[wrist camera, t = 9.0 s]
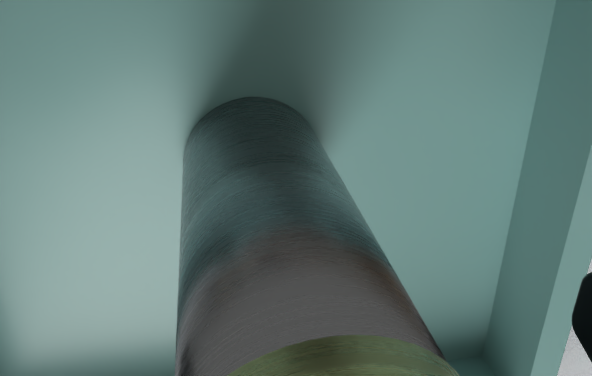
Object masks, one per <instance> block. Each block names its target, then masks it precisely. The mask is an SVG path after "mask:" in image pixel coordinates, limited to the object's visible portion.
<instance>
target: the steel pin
mask: <svg viewBox="0 0 592 376" xmlns="http://www.w3.org/2000/svg"><path fill="white" fill-rule="evenodd" d="M175 376H460V375H459V374H458V373H457V371H456V370H455V369H454V368H452V367H451V366H450V365H449V364H448V362H447V361H446V359H445V357H444V355H443V354H442V352H441V350H440V349H439V347H438V345H437V343H436V342H435V340H434V338H433V336H432V335H431V333H430V331H429V330H428V328H427V326H426V324H425V323H424V321H423V319H422V317H421V316H420V314H419V312H418V310H417V309H416V307H415V305H414V304H413V302H412V300H411V298H410V297H409V295H408V293H407V291H406V290H405V288H404V286H403V285H402V283H401V281H400V279H399V278H398V276H397V274H396V272H395V271H394V269H393V267H392V265H391V264H390V262H389V260H388V259H387V257H386V255H385V253H384V252H383V250H382V248H381V246H380V245H379V243H378V241H377V240H376V238H375V236H374V234H373V233H372V231H371V229H370V227H369V226H368V224H367V222H366V220H365V219H364V217H363V215H362V214H361V212H360V210H359V208H358V207H357V205H356V203H355V201H354V200H353V198H352V196H351V195H350V193H349V191H348V189H347V188H346V186H345V184H344V182H343V181H342V179H341V177H340V175H339V174H338V172H337V170H336V169H335V167H334V165H333V163H332V162H331V160H330V158H329V156H328V155H327V153H326V151H325V150H324V148H323V146H322V144H321V143H320V141H319V139H318V137H317V136H316V134H315V132H314V130H313V129H312V127H311V126H310V124H309V123H308V121H307V120H306V119H305V118H304V117H303V116H302V115H301V114H300V113H299V112H298V111H296V110H295V109H294V108H292V107H290V106H289V105H287V104H285V103H283V102H280V101H278V100H274V99H271V98H265V97H243V98H238V99H234V100H230V101H228V102H225V103H223V104H221V105H219V106H217V107H215V108H214V109H212V110H211V111H210V112H208V113H207V114H206V115H205V116H204V117H203V118H201V119H200V121H199V122H198V123H197V124H196V126H195V127H194V128H193V130H192V132H191V133H190V135H189V138H188V140H187V142H186V146H185V150H184V156H183V176H182V201H181V227H180V252H179V278H178V303H177V328H176V354H175Z"/></svg>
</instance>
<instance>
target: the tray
mask: <svg viewBox="0 0 592 376" xmlns="http://www.w3.org/2000/svg"><path fill="white" fill-rule="evenodd" d="M243 97H265V98H271V99H274V100H278V101H280V102H283V103H285V104H287V105H289V106H290V107H292V108H294V109H295V110H296V111H298V112H299V113H300V114H301V115H302V116H303V117H304V118H305V119H306V120H307V121H308V123H309V124H310V126H311V127H312V129H313V130H314V132H315V134H316V136H317V137H318V139H319V141H320V143H321V144H322V146H323V148H324V150H325V151H326V153H327V155H328V156H329V158H330V160H331V162H332V163H333V165H334V167H335V169H336V170H337V172H338V174H339V175H340V177H341V179H342V181H343V182H344V184H345V186H346V188H347V189H348V191H349V193H350V195H351V196H352V198H353V200H354V201H355V203H356V205H357V207H358V208H359V210H360V212H361V214H362V215H363V217H364V219H365V220H366V222H367V224H368V226H369V227H370V229H371V231H372V233H373V234H374V236H375V238H376V240H377V241H378V243H379V245H380V246H381V248H382V250H383V252H384V253H385V255H386V257H387V259H388V260H389V262H390V264H391V265H392V267H393V269H394V271H395V272H396V274H397V276H398V278H399V279H400V281H401V283H402V285H403V286H404V288H405V290H406V291H407V293H408V295H409V297H410V298H411V300H412V302H413V304H414V305H415V307H416V309H417V310H418V312H419V314H420V316H421V317H422V319H423V321H424V323H425V324H426V326H427V328H428V330H429V331H430V333H431V335H432V336H433V338H434V340H435V342H436V343H437V345H438V347H439V349H440V350H441V352H442V354H443V355H444V357H445V359H446V361H447V362H448V364H449V365H450V366H451V367H452V368H454V369H455V370H456V371H457V373H458V374H459V375H460V376H557V373H558V370H559V367H560V363H561V360H562V357H563V353H564V350H565V346H566V343H567V340H568V336H569V333H570V329H571V326H572V312H573V309H574V305H575V302H576V299H577V295H578V292H579V288H580V285H581V282H582V279H583V278H584V277H585V275H586V274H587V272H588V268H589V265H590V262H591V258H592V0H0V376H175V354H176V328H177V303H178V278H179V252H180V227H181V201H182V176H183V156H184V150H185V146H186V142H187V140H188V138H189V135H190V133H191V132H192V130H193V128H194V127H195V126H196V124H197V123H198V122H199V121H200V119H201V118H203V117H204V116H205V115H206V114H207V113H208V112H210V111H211V110H212V109H214V108H215V107H217V106H219V105H221V104H223V103H225V102H228V101H230V100H234V99H238V98H243Z"/></svg>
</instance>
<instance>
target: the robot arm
mask: <svg viewBox="0 0 592 376" xmlns="http://www.w3.org/2000/svg"><path fill="white" fill-rule="evenodd" d="M572 326H573V329H574V332H575V334H576V336H577V337H578V339H579V341H580V343H581V344H582V346H583V348H584V350H585V351H586V353H587V355H588V357H589V358H590V360H591V362H592V272H591V273H589V274H586V275H585V277H584V278H583V279H582V282H581V285H580V288H579V292H578V295H577V299H576V302H575V305H574V309H573V312H572Z"/></svg>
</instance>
